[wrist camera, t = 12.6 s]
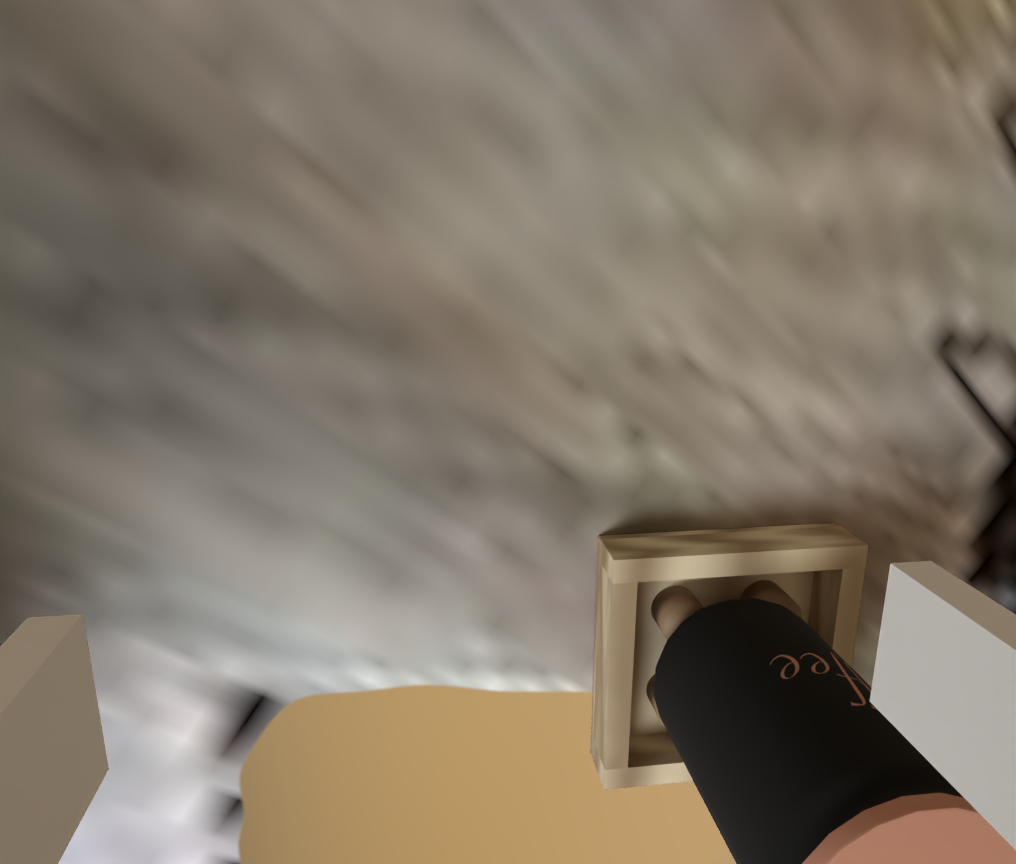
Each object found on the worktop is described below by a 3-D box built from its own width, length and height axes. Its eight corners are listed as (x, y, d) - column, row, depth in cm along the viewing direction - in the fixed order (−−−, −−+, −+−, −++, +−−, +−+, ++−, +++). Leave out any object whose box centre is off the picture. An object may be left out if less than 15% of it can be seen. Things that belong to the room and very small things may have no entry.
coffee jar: (839, 658, 48) (1082, 898, 31) (717, 766, 49) (886, 1057, 32) (740, 555, 45) (947, 759, 28) (612, 673, 46) (736, 939, 29)
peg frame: (590, 751, 51) (604, 789, 48) (598, 535, 47) (613, 560, 44) (809, 731, 53) (837, 766, 50) (836, 522, 49) (868, 545, 46)
